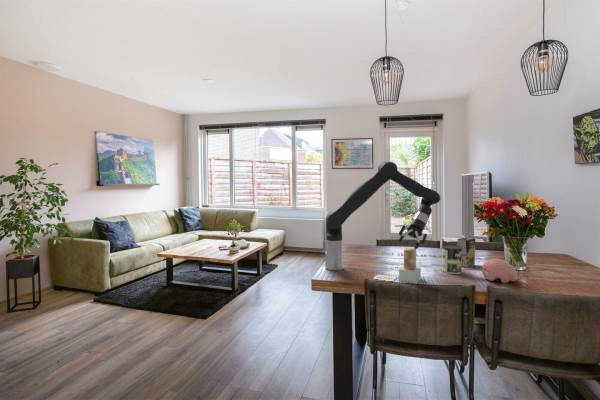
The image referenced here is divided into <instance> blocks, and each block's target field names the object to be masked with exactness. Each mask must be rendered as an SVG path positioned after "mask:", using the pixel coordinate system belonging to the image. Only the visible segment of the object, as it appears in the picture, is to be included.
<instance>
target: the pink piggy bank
mask: <svg viewBox="0 0 600 400" xmlns="http://www.w3.org/2000/svg"><path fill="white" fill-rule="evenodd" d="M481 272H482V275H483V277H484V278H485V279H486V280H489V281H490V282H494V281H495V280H500V282H501V283H502V284H507V283H509V282H515V281H517V280H518V272H517V269H516V268H515V267H514V266H513V265H512V264H511V263H509V262H508V261H507V260H503V259H500V258H490V259H489V260H487V261H485V262H484V264H483V265H482V271H481Z"/></svg>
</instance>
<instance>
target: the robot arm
mask: <svg viewBox="0 0 600 400" xmlns="http://www.w3.org/2000/svg"><path fill="white" fill-rule="evenodd" d="M390 180H391V181H392V182H394V183H396V184H398V185H399V186H400V187H402V188H404V189H405V190H407V191H408V192H409V193H411V194H412V195H414V196H416V197H418V198H421V201H420V205H419V208H418V209H417V212H416V213H415V215H414V216H413V218H412V221H411V223H409V226H408V227H407V226H406V225H402V227H401V228H400V230H399V232H398V234H399V236H400V237H399V239H398V243H399V244H402V242H403V240H404V238H406V237H409V238H413V239H416V243H415V245H414V248H413V249H416V250H417V249H419V246H420V245H422V246H423V245H425V242H426V240H427V237H428V235H427V233H423V231H424V230H425V227H426V226H427V223H428V221H429V219H430V216H431V214H432V212H433V210H432V209H433V208H432V207H431V206H432V205H435V204H438V203H439V202H440V201H441V195H440V193H439V192H437V191H436V190H434V189H432V188H429V187H426V186H424V185H423V184H421V183H420V182H418V181H416V180H415V179H413V178H411V177H409V176H407V175H405V174H403V173H402V172H400V171H399V170H398V165H397V164H396V163H395V162H393V161H383V162H380V164H379V165H378V166H377V172H376V173H375V174H374V175H373V176H372V177H370V178H369V179H367V180H366V181H364V182H363V183H361V184H360V185H358V186H357V187H356V188H355V189H354V190H353V191H352V192H351V193H350V194H349V196H348V197H347V198H346V199H345V201H344V203H343V204H342V205H341V206H340V207H338V208H337V209H336V210H334V211H330V212H329V213H328V214H327V216H326V218H325V233H326V234H325V235H326V251H325V253H324V256H325V257H324V263H325V264H324V265H325V268H324V269H326V270H329V271H341V270H342V269H343V224H344V223H345V222H346V221H347V219H349V217H350V216H351V215H352V214H353V213H354V212H356V211H357V210H358V209H359V208H361V207H362V206H363V205H364V204H365V203H366V202H367V201H368V200H369V199H371V198H372V197H373V195H374V194H376V192H377V191H378V190H380V189H381V187H382V186H384V185H385V184H386V183H387V182H389V181H390ZM404 231H405V232H404ZM420 237H422V240H420Z"/></svg>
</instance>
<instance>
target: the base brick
mask: <svg viewBox="0 0 600 400" xmlns="http://www.w3.org/2000/svg"><path fill="white" fill-rule="evenodd" d="M421 269H422V268H421V267H420V266H416V268H415V269H414V270H408V269H404V264H403V265H401V267H400V268H398V281H399V282H404V283H410V284H411V283H412V284H418V283H419V281H420V280H421V279H420V278H421V275H422V273H421V271H422V270H421Z"/></svg>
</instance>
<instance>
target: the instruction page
mask: <svg viewBox="0 0 600 400" xmlns="http://www.w3.org/2000/svg"><path fill="white" fill-rule="evenodd" d="M396 278H397V276H392V275H391V276H390V275H383V274H376V275H375V276H374V277H373V278H372V279H373V280H376V279H378V281H383V280H385V282H389V281H393V282H394V281H395V280H396Z"/></svg>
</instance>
